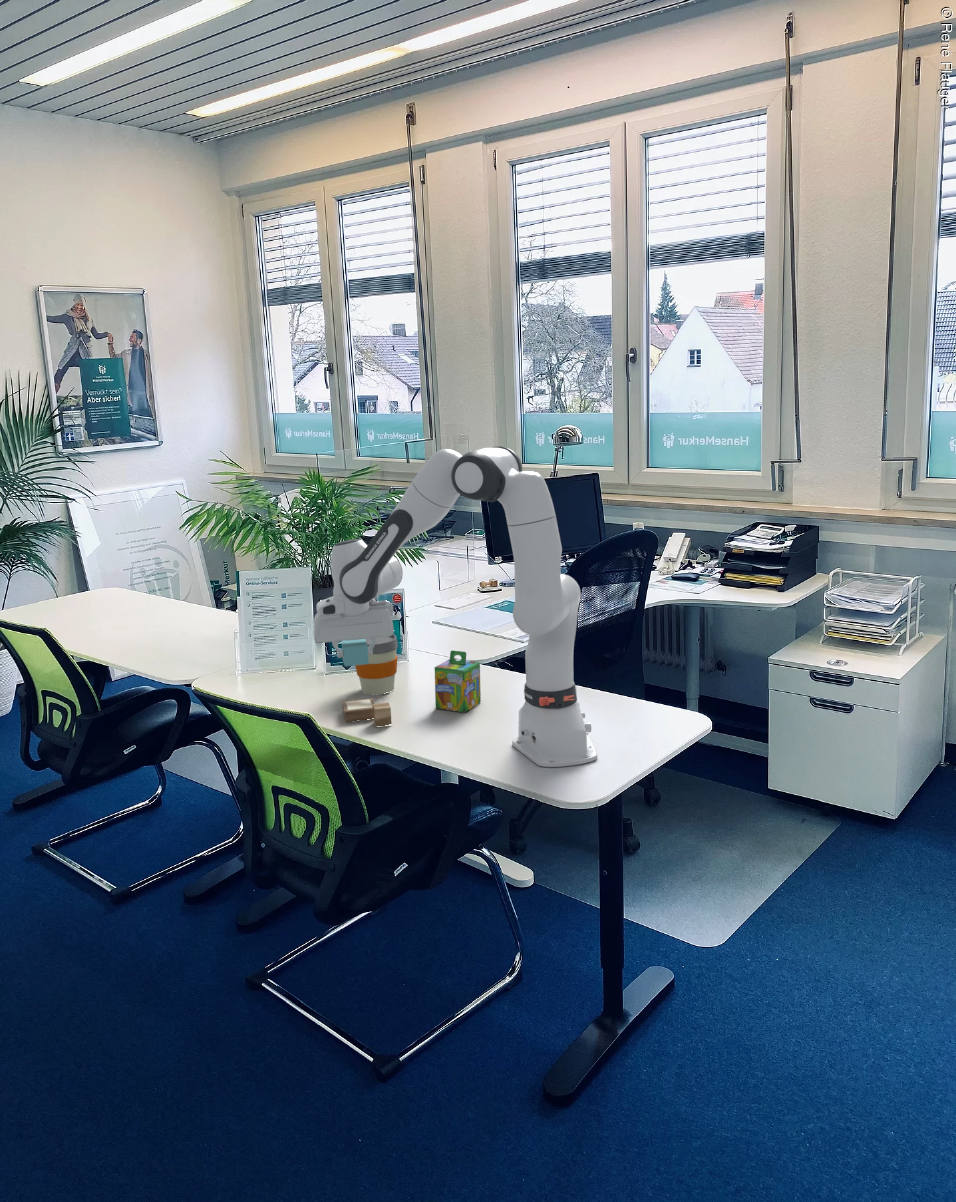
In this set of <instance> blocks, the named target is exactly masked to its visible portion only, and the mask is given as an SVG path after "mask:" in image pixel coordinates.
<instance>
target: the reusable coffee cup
mask: <svg viewBox="0 0 956 1202" xmlns="http://www.w3.org/2000/svg"><path fill="white" fill-rule="evenodd" d="M356 640H358V639H356ZM365 640H366V643H367V646H368V647H369V646H370V644H371V640H370V638H367V639H365ZM376 641H377V642H376V644H375V646H374V647H373V655H368V661H369V664H364V665H354V666H355V671H356V675H357V677H358V679H359V683H360V687H361V692H362V694H365V695H367V694H371V695H370V696H377V695H376V694H384V693H386V692H390V691H392V690H393V689H394V690H395V681H396V679H395V677H396V674H397V671H398V670H397V669H398V655H397V652H398V651H397V649H398V647H399V645H398V639H397V635H395V633H393V634H392V636H388V637H378V638H376ZM394 690H393V691H394ZM393 691H392V692H393ZM390 693H391V692H390ZM372 694H373V695H372ZM374 694H375V695H374ZM384 695H385V694H384Z"/></svg>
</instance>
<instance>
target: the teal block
mask: <svg viewBox="0 0 956 1202" xmlns="http://www.w3.org/2000/svg"><path fill="white" fill-rule="evenodd" d="M341 649H343V653H344V654H343V655H344V657H342V662H343V665H344V667H351V666H355V665H364V664H369V661H368V646H367V643H366V640H365V639H358V640H346V641H341Z"/></svg>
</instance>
